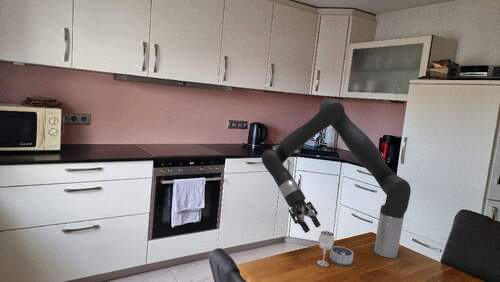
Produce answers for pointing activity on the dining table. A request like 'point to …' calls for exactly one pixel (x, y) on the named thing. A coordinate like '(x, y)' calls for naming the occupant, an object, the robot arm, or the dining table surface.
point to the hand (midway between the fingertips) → (313, 229)
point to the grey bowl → (341, 256)
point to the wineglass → (325, 245)
